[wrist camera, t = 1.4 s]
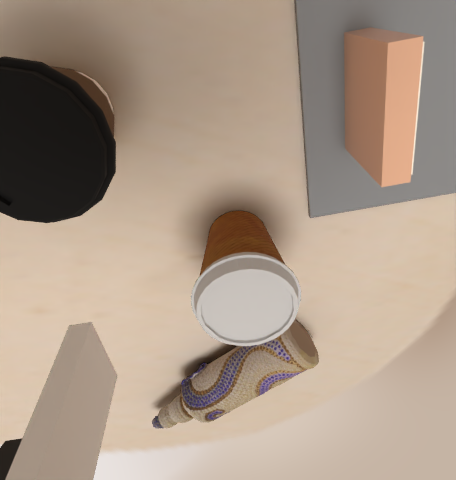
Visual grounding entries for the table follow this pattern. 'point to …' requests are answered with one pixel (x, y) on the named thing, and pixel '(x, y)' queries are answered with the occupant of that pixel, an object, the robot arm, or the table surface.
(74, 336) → the robot arm
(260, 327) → the disposable coffee cup
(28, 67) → the coffee cup
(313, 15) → the mat
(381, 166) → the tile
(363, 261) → the table surface
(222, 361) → the decorative bottle
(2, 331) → the table surface
